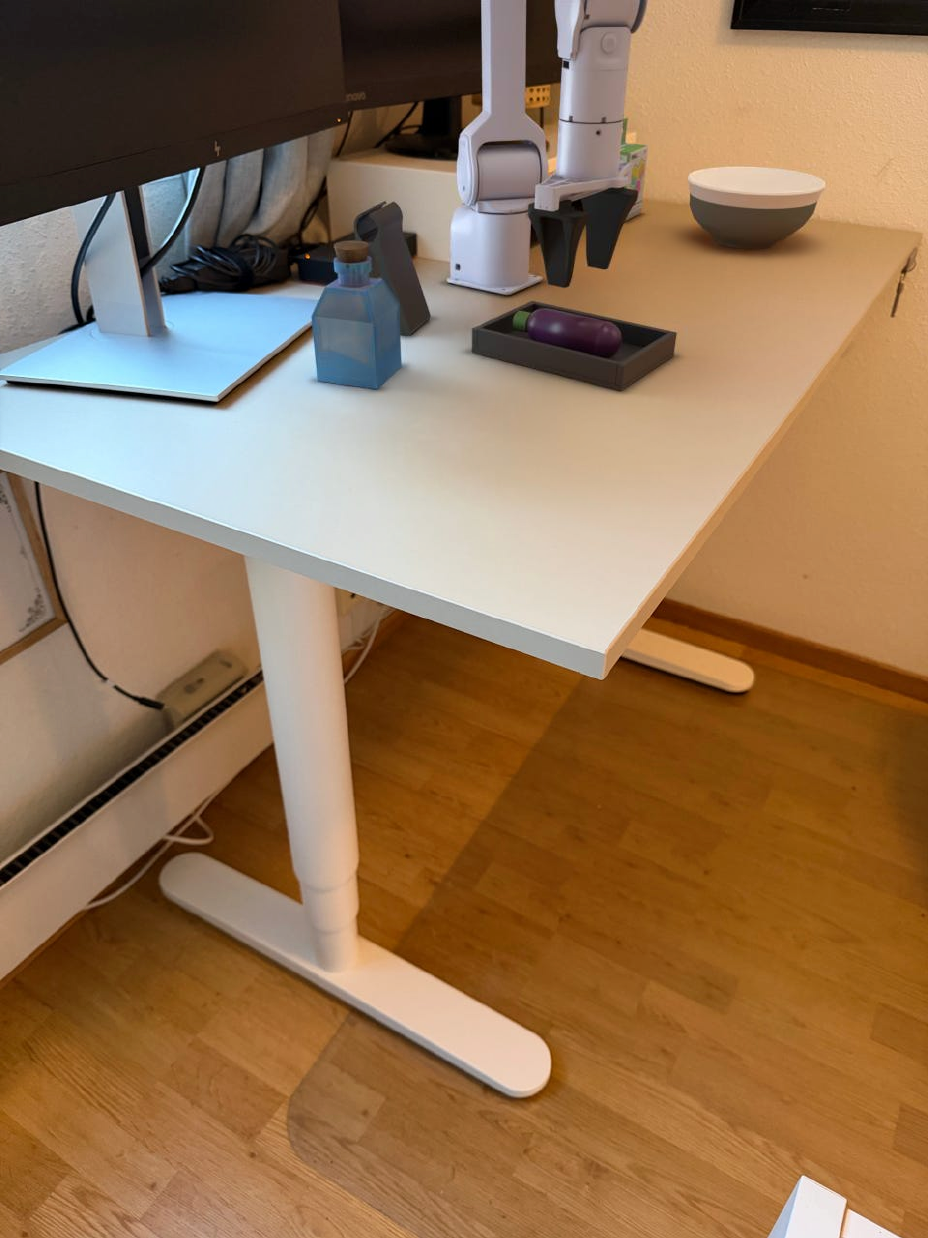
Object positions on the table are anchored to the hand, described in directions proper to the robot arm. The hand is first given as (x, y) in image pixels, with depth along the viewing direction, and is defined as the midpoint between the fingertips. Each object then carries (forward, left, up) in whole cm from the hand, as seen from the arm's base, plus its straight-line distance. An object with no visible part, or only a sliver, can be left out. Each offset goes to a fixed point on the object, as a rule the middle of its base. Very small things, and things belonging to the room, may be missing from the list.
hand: (578, 276), depth 88 cm
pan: (0, 0, -8) cm, 8 cm away
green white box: (-24, +57, -8) cm, 62 cm away
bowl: (-3, +54, -8) cm, 55 cm away
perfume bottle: (-14, -17, -8) cm, 24 cm away
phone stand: (-22, -4, -8) cm, 24 cm away
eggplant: (0, 0, -7) cm, 7 cm away
